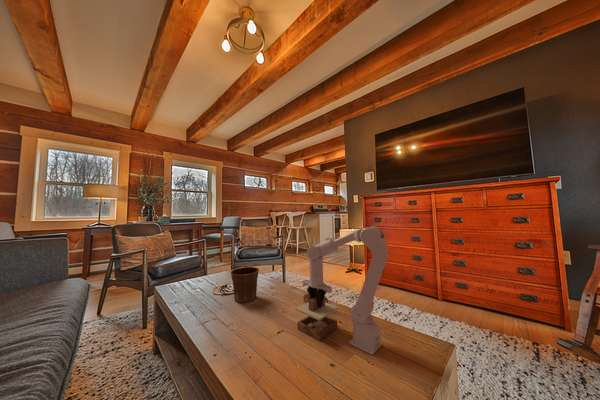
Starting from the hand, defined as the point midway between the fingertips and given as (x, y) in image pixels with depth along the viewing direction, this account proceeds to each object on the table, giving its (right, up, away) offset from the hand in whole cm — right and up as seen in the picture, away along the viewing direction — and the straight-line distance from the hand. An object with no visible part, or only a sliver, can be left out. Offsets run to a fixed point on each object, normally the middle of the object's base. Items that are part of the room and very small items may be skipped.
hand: (317, 305), depth 91 cm
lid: (0, -2, 0) cm, 2 cm away
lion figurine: (+1, -11, +17) cm, 20 cm away
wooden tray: (0, -10, -1) cm, 10 cm away
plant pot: (-39, -12, +32) cm, 52 cm away
